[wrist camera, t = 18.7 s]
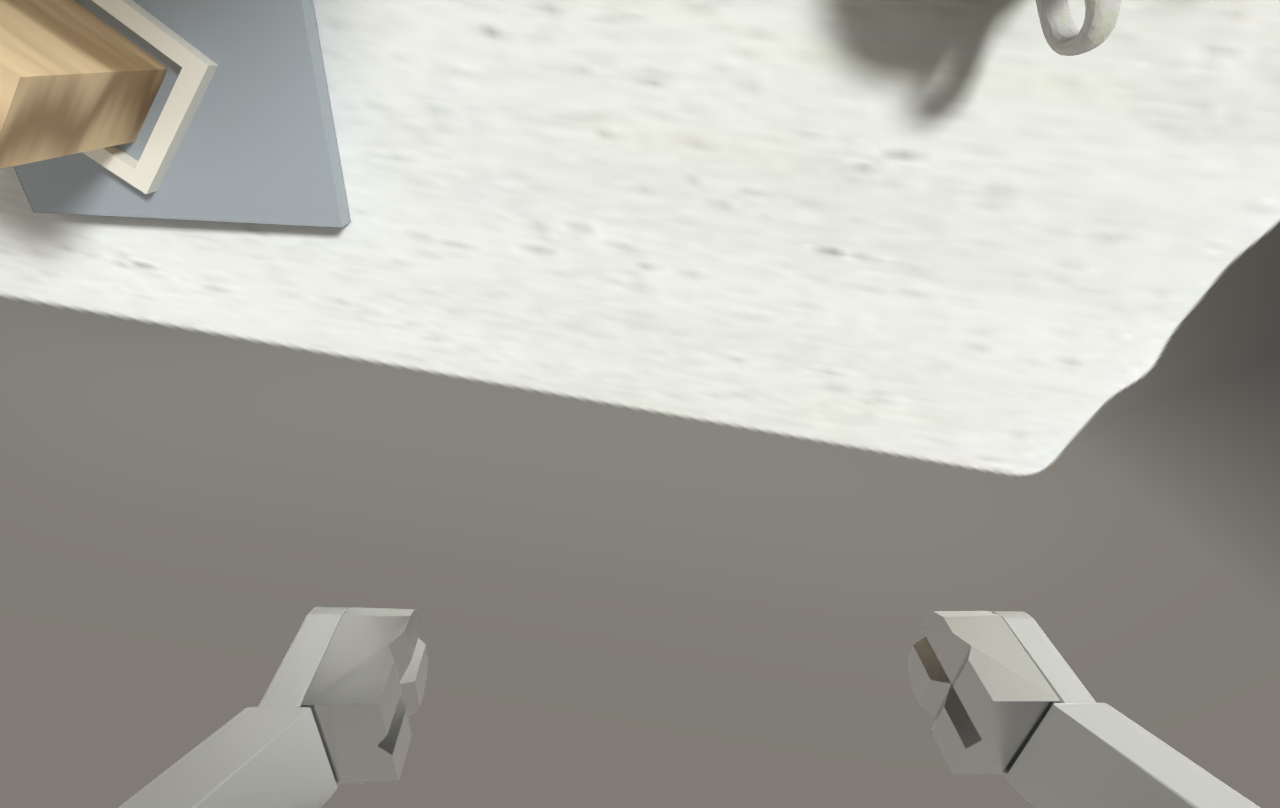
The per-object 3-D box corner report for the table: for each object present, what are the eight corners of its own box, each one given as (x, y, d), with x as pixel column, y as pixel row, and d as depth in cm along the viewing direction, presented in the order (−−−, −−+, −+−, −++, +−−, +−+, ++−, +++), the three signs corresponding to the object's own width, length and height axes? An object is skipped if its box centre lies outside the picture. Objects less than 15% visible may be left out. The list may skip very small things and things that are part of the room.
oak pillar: (71, -3, 32) (-151, -22, 23) (168, 68, 34) (0, 78, 25) (41, 77, 34) (-176, 90, 25) (135, 141, 36) (-34, 176, 27)
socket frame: (40, -70, 31) (24, -73, 30) (218, 65, 34) (208, 65, 33) (-11, 81, 34) (-27, 81, 33) (156, 190, 37) (146, 194, 37)
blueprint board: (-103, -170, 30) (-135, -180, 29) (289, -134, 31) (275, -142, 30) (52, 206, 39) (33, 212, 38) (350, 221, 40) (342, 227, 39)
